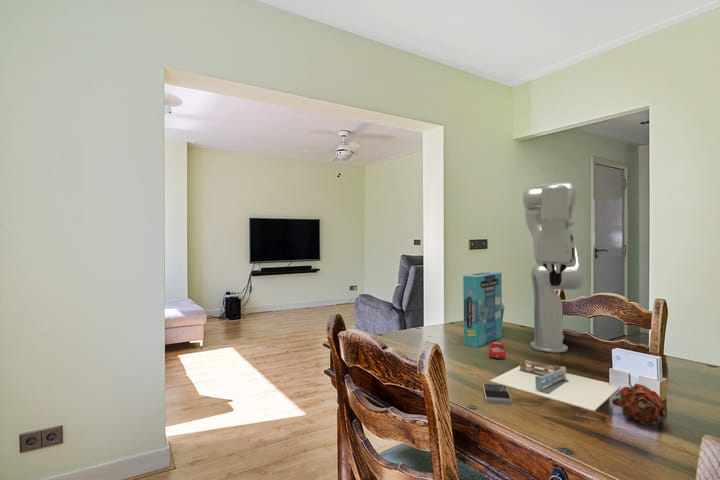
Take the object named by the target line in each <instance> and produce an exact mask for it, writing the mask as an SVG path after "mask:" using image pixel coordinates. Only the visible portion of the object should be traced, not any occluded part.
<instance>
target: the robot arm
mask: <svg viewBox="0 0 720 480" xmlns="http://www.w3.org/2000/svg"><path fill="white" fill-rule="evenodd" d="M576 202H577V188H576V186H575V185H574V184H573V183H572V182H568V181H565V182H563V181H561V182H547V183H546V182H545V183H542V184H540V185H537V186H531V187H526V188H525V190H524V192H523V195H522V203H523V207H524V209H525V211H524V215H525V216H524V217H525V218H524V219H525V221H526V222H525V223H526V226H527V228H528V231H529V232H530V235H531V236H532V244H533V257H534V261H535V262H536V264H535V265H534V266H532V268H531V269H530V276H531V277H530V278H531V282H532V290H533V308H534V309H533V319H534V320H533V324H534V325H533V327H534V329H533V332H534V338H533V340H534V341H531V342H529V347H530V348H531V349H533V350H535V351H539V352H543V353H556V354H557V353H558V354H559V353H565V352H567V351H568V346H567V345H566V344H564V342H563V341H564V339H565V335H564V334H563V329H564V327H563V325H564V324H563V301H562V299H561V296H559V295H558V294H557V293H556V292H555V290H567V291H568V290H572V291H573V290H581V289H582V288H583V287H584V286H585V282H586V281H585V280H586V279H585V271H584V266H583V265H584V264H583V260H582V259H583V258H582V253H581V252H582V251H581V249H580V246H579V245H578V243H577V242H576V241H575V238H574V233H573V230H572V229H570V228H571V227H574V225H575V222H574V221H571V220H572V219H573V217H574V214H575V213H574V212H575V206H576Z"/></svg>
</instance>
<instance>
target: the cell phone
mask: <svg viewBox="0 0 720 480" xmlns="http://www.w3.org/2000/svg"><path fill="white" fill-rule="evenodd" d="M482 388H483V393H484V398H485V401H486V403H487V404H492V405H505V406H510V405H511V404H512V398H511V396H510V393H509V390H508V387H507V386H503V385H500V384H489V383H488V384H482Z"/></svg>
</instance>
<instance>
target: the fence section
mask: <svg viewBox="0 0 720 480" xmlns="http://www.w3.org/2000/svg"><path fill="white" fill-rule="evenodd" d="M526 364H527V365H531V367H528V366H526ZM519 366H520V370H521V371H525V370H530V371H531V373H534V372H539V373H543V374H544V375H546V374H549V373H551V372H549V371H548V370H553V371H557V370H559V369H560V367H561V365H554V366H553V365H549V364H548V363H542V362H541V363H540V362H536V361H534V360H526V358H525V357H520V358H519ZM534 366H536V367H540V368H544V370H541V369H537V368H534ZM558 376H560V375H558Z"/></svg>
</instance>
